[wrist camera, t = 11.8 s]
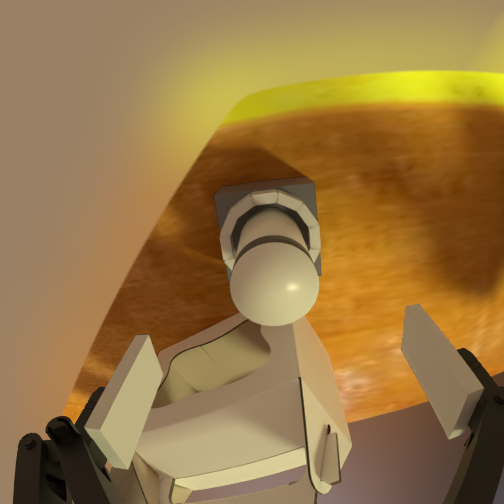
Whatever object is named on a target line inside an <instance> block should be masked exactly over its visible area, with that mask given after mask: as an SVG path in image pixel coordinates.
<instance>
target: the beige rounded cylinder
mask: <svg viewBox="0 0 504 504" xmlns="http://www.w3.org/2000/svg"><path fill="white" fill-rule="evenodd" d="M318 292H319V278H318V274H317V271H316V268H315V265H314V263H313V260H312V258H311V256H310V254H309V251H308V249H307V246H306V244H305V241H304V239H303V237H302V234H301V232H300V229H299V227H298V225H297V223H296V221H295V219H294V218H293V217H292V216H291V215H290V214H289V213H287V212H285V211H283V210H281V209H278V208H263V209H260V210H258V211H256V212H254V213H253V214H251V215H250V216H249V217H248V218H247V220H246V221H245V223H244V225H243V227H242V231H241V235H240V240H239V244H238V249H237V253H236V258H235V262H234V265H233V270H232V275H231V281H230V293H231V297H232V300H233V302H234V304H235V306H236V308H237V309H238V310H239V311H240V312H241V313H242V314H243V315H244V316H245V317H246V318H248V319H249V320H251V321H253V322H255V323H258V324H261V325H266V326H281V325H286V324H290V323H292V322H295V321H296V320H298V319H300V318H301V317H303V316H304V315H305V314H306V313H307V312H308V311H309V310H310V309H311V308H312V306H313V305H314V303H315V301H316V299H317V296H318Z"/></svg>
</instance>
